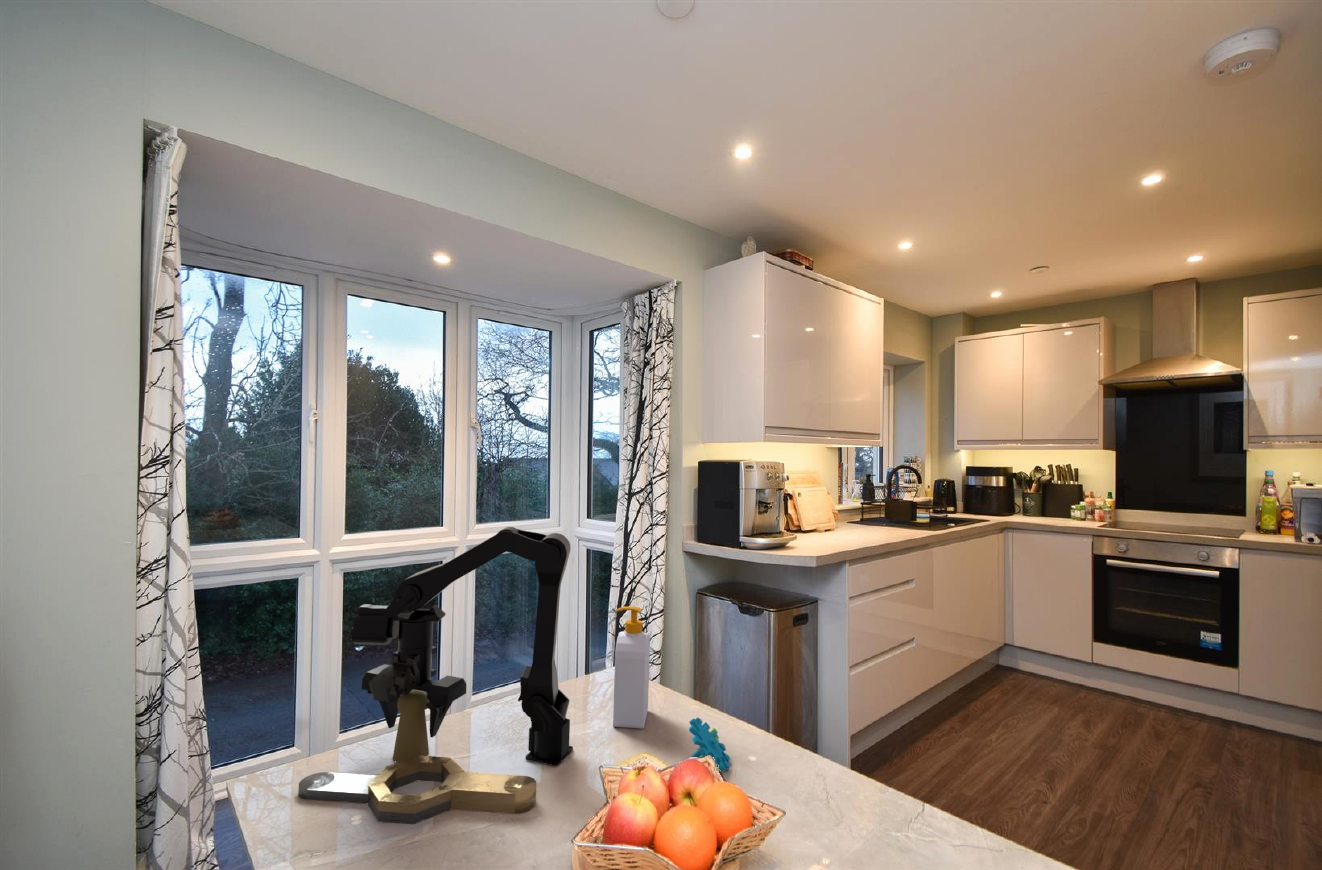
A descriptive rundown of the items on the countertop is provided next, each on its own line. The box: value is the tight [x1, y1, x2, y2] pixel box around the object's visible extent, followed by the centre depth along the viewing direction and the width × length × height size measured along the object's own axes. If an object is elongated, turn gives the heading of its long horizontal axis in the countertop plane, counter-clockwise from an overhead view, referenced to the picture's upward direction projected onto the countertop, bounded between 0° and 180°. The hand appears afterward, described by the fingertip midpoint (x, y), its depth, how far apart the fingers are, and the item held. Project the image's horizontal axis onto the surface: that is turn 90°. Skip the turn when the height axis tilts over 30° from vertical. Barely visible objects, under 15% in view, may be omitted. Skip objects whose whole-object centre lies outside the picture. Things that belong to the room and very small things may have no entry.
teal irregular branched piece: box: [688, 717, 731, 773], centre depth 106 cm, size 11×6×10 cm
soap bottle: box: [612, 605, 651, 729], centre depth 123 cm, size 9×7×23 cm
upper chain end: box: [368, 755, 538, 815], centre depth 93 cm, size 26×13×3 cm, turn 86°
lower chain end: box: [297, 771, 452, 825], centre depth 94 cm, size 26×13×2 cm, turn 86°
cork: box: [392, 689, 430, 763], centre depth 106 cm, size 6×6×11 cm
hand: (412, 731), depth 106 cm, fingers open, 9 cm apart
